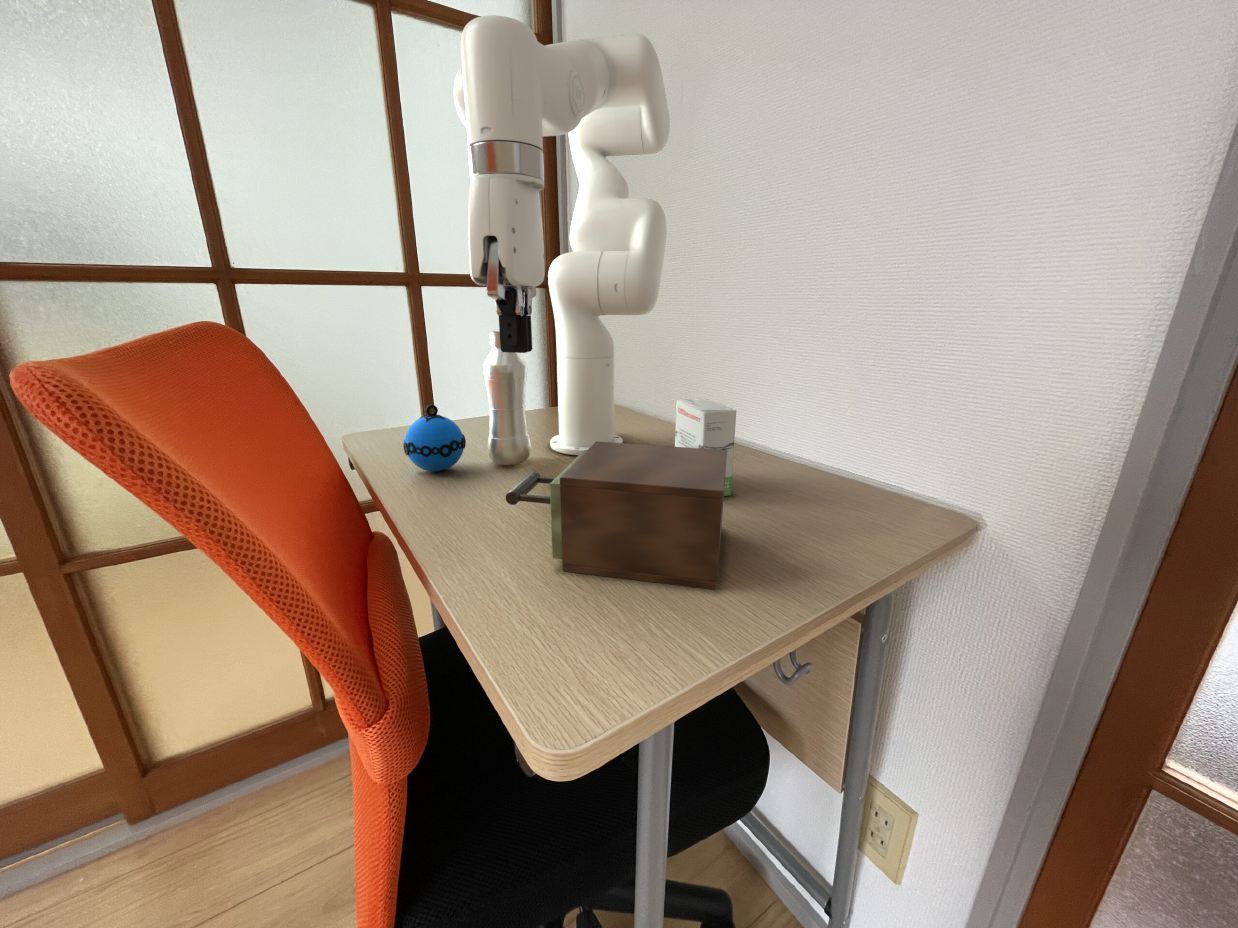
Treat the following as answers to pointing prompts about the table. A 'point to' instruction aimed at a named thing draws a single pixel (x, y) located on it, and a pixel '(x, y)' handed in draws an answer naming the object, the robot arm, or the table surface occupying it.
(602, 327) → the robot arm
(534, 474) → the drawer
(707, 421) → the ink box
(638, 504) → the cabinet
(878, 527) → the table surface
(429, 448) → the ornament
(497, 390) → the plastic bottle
